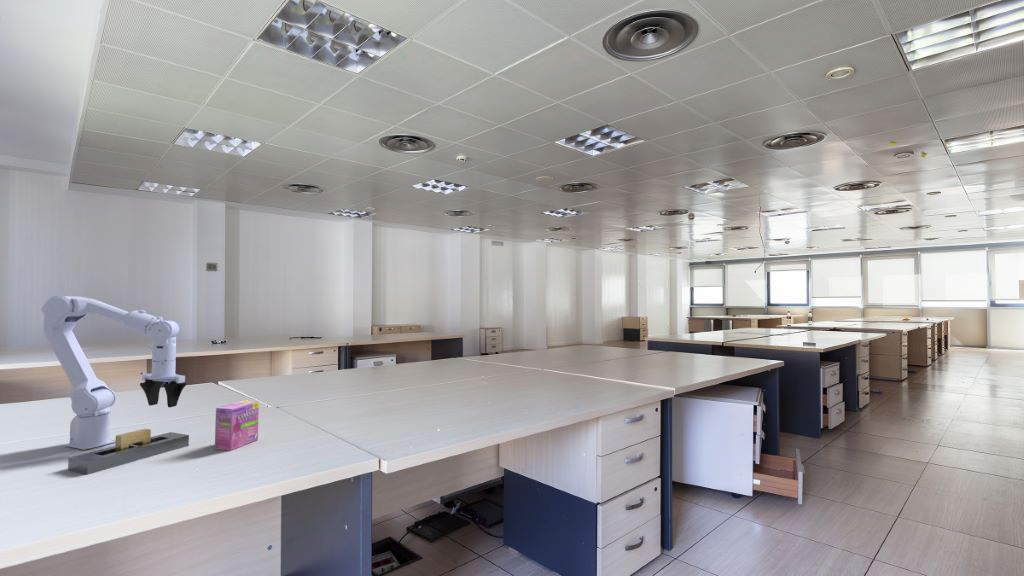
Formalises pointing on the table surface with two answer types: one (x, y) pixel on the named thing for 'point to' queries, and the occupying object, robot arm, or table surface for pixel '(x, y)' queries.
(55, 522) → the table surface
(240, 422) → the box
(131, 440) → the clip
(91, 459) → the block
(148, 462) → the table surface
